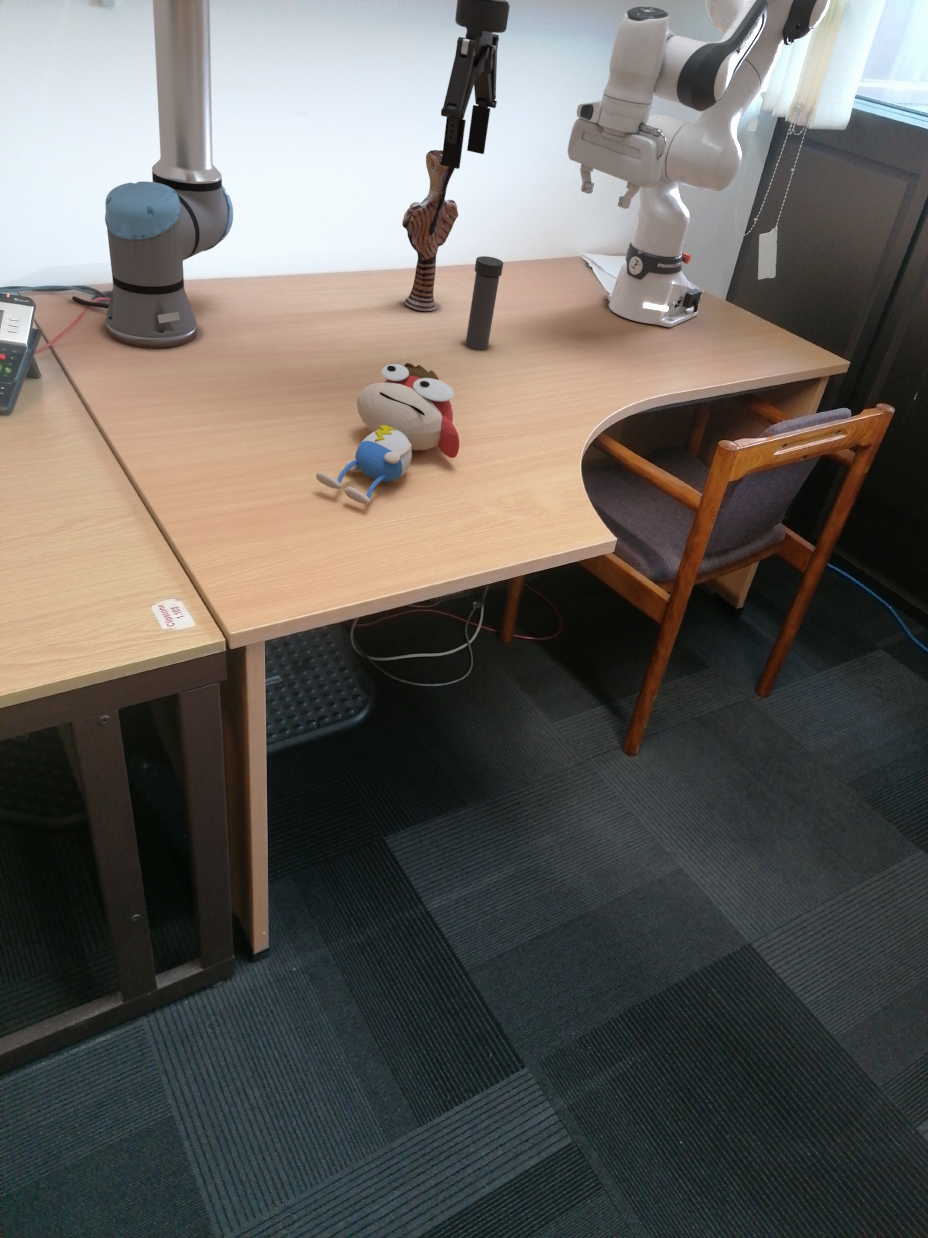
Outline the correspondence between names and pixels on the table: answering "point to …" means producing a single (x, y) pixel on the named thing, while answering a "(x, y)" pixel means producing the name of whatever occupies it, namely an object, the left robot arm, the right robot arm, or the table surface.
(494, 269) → the lid
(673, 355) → the table surface
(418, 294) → the figurine
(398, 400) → the toy
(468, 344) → the dark grey bottle
